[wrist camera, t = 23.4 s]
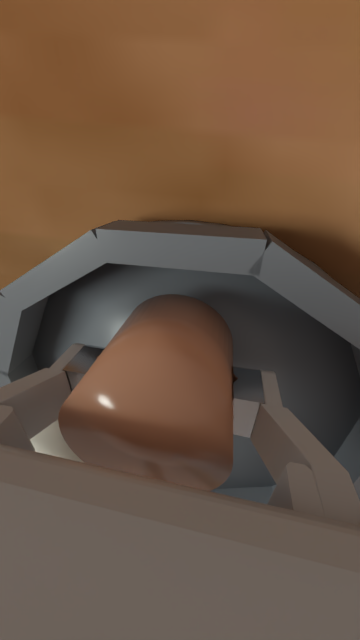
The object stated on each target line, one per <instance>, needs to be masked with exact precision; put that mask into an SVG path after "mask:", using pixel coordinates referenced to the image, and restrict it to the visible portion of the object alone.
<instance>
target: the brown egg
mask: <svg viewBox="0 0 360 640" xmlns="http://www.w3.org/2000/svg"><path fill="white" fill-rule="evenodd" d="M58 423H59V428H60V432H61V434H62V436H63V438H64V440H65V442H66V443H67V445H68V446H69V447H70V449H71V450H72V451H73V452H74V453H75V454H76V455H77V456H78V457H79V458H80V459H81V460H82V461H83V462H84V463H87V464H92V465H96V466H101V467H105V468H109V469H114V470H118V471H123V472H127V473H132V474H136V475H140V476H145V477H149V478H154V479H158V480H162V481H167V482H171V483H175V484H180V485H184V486H189V487H193V488H197V489H202V490H206V491H211V490H213V489H216V488H217V487H219V486H220V485H222V484H223V483H224V482H225V481H226V480H227V478H228V477H229V476H230V474H231V471H232V468H233V338H232V334H231V331H230V329H229V327H228V325H227V323H226V322H225V320H224V319H223V318H222V316H221V315H220V314H219V313H218V312H217V311H216V310H214V309H213V308H212V307H210V306H209V305H207V304H206V303H204V302H202V301H200V300H198V299H195V298H192V297H189V296H185V295H178V294H166V295H159V296H155V297H152V298H150V299H147V300H146V301H144V302H142V303H141V304H140V305H138V306H137V307H136V308H135V309H134V310H133V312H132V313H131V314H130V316H129V317H128V318H127V320H126V321H125V322H124V323H123V325H122V326H121V327H120V329H119V330H118V331H117V333H116V334H115V335H114V337H113V338H112V339H111V341H110V342H109V343H108V345H107V346H106V347H105V349H104V350H103V351H102V353H101V354H100V355H99V357H98V358H97V359H96V361H95V362H94V363H93V365H92V366H91V367H90V369H89V370H88V371H87V372H86V374H85V375H84V376H83V378H82V379H81V380H80V382H79V383H78V384H77V386H76V387H75V388H74V390H73V391H72V392H71V394H70V395H69V396H68V398H67V399H66V400H65V402H64V403H63V405H62V406H61V408H60V411H59V416H58Z"/></svg>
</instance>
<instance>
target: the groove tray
mask: <svg viewBox="0 0 360 640" xmlns="http://www.w3.org/2000/svg"><path fill="white" fill-rule="evenodd" d="M166 294H178V295H185V296H189V297H192V298H195V299H198V300H200V301H202V302H204V303H206V304H207V305H209V306H210V307H212V308H213V309H214V310H216V311H217V312H218V313H219V314H220V315H221V316H222V318H223V319H224V320H225V322H226V323H227V325H228V327H229V329H230V331H231V334H232V338H233V366H235V367H242V368H249V369H257V370H266V371H274V372H275V374H276V378H277V383H278V387H279V392H280V396H281V401H282V405H283V407H285V408H288V409H289V410H290V411H291V412H292V413H293V414H294V415H295V417H296V418H297V419H298V420H299V421H300V422H301V423H302V424H303V425H304V426H305V427H306V428H307V429H308V430H309V431H310V432H311V433H312V434H313V435H314V437H315V438H316V439H317V440H318V441H319V442H320V443H321V444H322V445H323V446H324V447H325V448H326V449H327V450H328V451H329V452H330V453H331V454H332V456H333V457H334V458H335V459H336V460H337V461H338V462H339V463H340V464H341V465H342V466H343V467H344V468H345V469H346V470H347V471H348V472H349V475H350V478H351V480H352V483H353V485H354V488H355V490H356V493H357V495H358V498H359V501H360V298H358V297H357V296H356V295H354V294H353V293H352V292H350V291H349V290H347V289H346V288H345V287H343V286H342V285H341V284H339V283H338V282H336V281H335V280H334V279H333V278H331V277H330V276H329V275H328V274H327V273H326V272H324V271H323V270H322V269H321V268H320V267H319V266H317V265H316V264H315V263H313V262H312V261H310V260H309V259H307V258H305V257H304V256H302V255H300V254H299V253H297V252H296V251H294V250H293V249H291V248H290V247H288V246H287V245H286V244H284V243H283V242H282V241H280V240H279V239H277V238H276V237H275V236H273V235H272V234H271V233H269V232H268V231H267V230H265V231H264V232H263V231H262V230H261V228H250V227H232V226H228V225H224V224H217V223H209V222H201V221H194V220H167V221H153V222H144V221H126V220H118V221H114V222H111V223H108V224H106V225H103V226H100V227H98V228H95V229H92V230H90V231H89V232H87V233H86V234H84V235H83V236H81V237H80V238H78V239H77V240H75V241H74V242H72V243H71V244H69V245H68V246H66V247H65V248H63V249H62V250H60V251H59V252H57V253H56V254H54V255H53V256H51V257H50V258H48V259H47V260H45V261H44V262H42V263H41V264H39V265H38V266H36V267H35V268H33V269H32V270H30V271H29V272H27V273H26V274H24V275H23V276H21V277H20V278H18V279H17V280H15V281H14V282H12V283H11V284H9V285H8V286H6V287H5V288H3V289H2V290H0V387H3V386H5V385H7V384H10V383H12V382H14V381H16V380H19V379H21V378H23V377H26V376H28V375H30V374H33V373H35V372H37V371H39V370H42V369H44V368H50V367H51V366H52V365H53V364H54V363H55V362H56V361H57V360H58V359H59V358H60V357H61V356H62V355H63V353H64V352H65V351H66V350H67V349H68V348H69V347H70V346H71V345H72V344H75V343H80V344H85V345H93V346H99V347H104V348H105V347H106V346H107V345H108V343H109V342H110V341H111V339H112V338H113V337H114V335H115V334H116V333H117V331H118V330H119V329H120V327H121V326H122V325H123V323H124V322H125V321H126V320H127V318H128V317H129V316H130V314H131V313H132V312H133V310H134V309H135V308H136V307H137V306H138V305H140V304H141V303H142V302H144V301H146V300H147V299H150V298H152V297H155V296H159V295H166ZM276 485H277V484H276V483H275V481H274V479H273V477H272V476H271V474H270V472H269V471H268V469H267V467H266V465H265V464H264V462H263V460H262V458H261V457H260V455H259V453H258V452H257V450H256V448H255V446H254V445H253V443H252V441H251V440H250V438H248V437H243V436H239V435H234V434H233V468H232V471H231V474H230V476H229V477H228V478H227V480H226V481H225V482H224V483H223V484H222V485H220V486H219V487H217V488H216V489H213V490H211V492H215V493H219V494H224V495H228V496H233V497H237V498H241V499H246V500H250V501H255V502H259V503H263V504H267V503H268V501H269V499H270V497H271V495H272V493H273V491H274V489H275V487H276Z"/></svg>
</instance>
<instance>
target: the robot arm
mask: <svg viewBox="0 0 360 640" xmlns="http://www.w3.org/2000/svg"><path fill="white" fill-rule="evenodd" d="M104 349H105V348H104V347H99V346H93V345H85V344H80V343H75V344H72V345H71V346H70V347H69V348H68V349H67V350H66V351H65V352H64V353H63V355H62V356H61V357H60V358H59V359H58V360H57V361H56V362H55V363H54V364H53V365H52V366H51V367H50V368H44V369H42V370H39V371H37V372H35V373H33V374H30V375H28V376H26V377H23V378H21V379H19V380H16V381H14V382H12V383H10V384H7V385H5V386H3V387H0V640H360V501H359V498H358V495H357V493H356V490H355V488H354V485H353V483H352V480H351V478H350V475H349V472H348V471H347V470H346V469H345V468H344V467H343V466H342V465H341V464H340V463H339V462H338V461H337V460H336V459H335V458H334V457H333V456H332V454H331V453H330V452H329V451H328V450H327V449H326V448H325V447H324V446H323V445H322V444H321V443H320V442H319V441H318V440H317V439H316V438H315V437H314V435H313V434H312V433H311V432H310V431H309V430H308V429H307V428H306V427H305V426H304V425H303V424H302V423H301V422H300V421H299V420H298V419H297V418H296V417H295V415H294V414H293V413H292V412H291V411H290V410H289V409H288V408H285V407H283V405H282V401H281V396H280V392H279V387H278V383H277V378H276V374H275V372H274V371H266V370H257V369H249V368H242V367H235V366H233V434H234V435H239V436H243V437H248V438H250V440H251V441H252V443H253V445H254V446H255V448H256V450H257V452H258V453H259V455H260V457H261V458H262V460H263V462H264V464H265V465H266V467H267V469H268V471H269V472H270V474H271V476H272V477H273V479H274V481H275V483H276V484H277V485H276V487H275V489H274V491H273V493H272V495H271V497H270V499H269V501H268V503H267V504H263V503H259V502H255V501H250V500H246V499H241V498H237V497H233V496H228V495H224V494H219V493H215V492H211V491H206V490H202V489H197V488H193V487H189V486H184V485H180V484H175V483H171V482H167V481H162V480H158V479H154V478H149V477H145V476H140V475H136V474H132V473H127V472H123V471H118V470H114V469H109V468H105V467H101V466H96V465H92V464H87V463H83V462H79V461H74V460H70V459H65V458H61V457H56V456H52V455H48V454H43V453H39V452H35V448H34V446H33V445H32V443H31V441H30V439H31V438H33V437H34V436H35V435H37V434H38V433H40V432H41V431H42V430H44V429H45V428H47V427H48V426H49V425H51V424H52V423H54V422H55V421H56V420H58V416H59V411H60V408H61V406H62V405H63V403H64V402H65V400H66V399H67V398H68V396H69V395H70V394H71V392H72V391H73V390H74V388H75V387H76V386H77V384H78V383H79V382H80V380H81V379H82V378H83V376H84V375H85V374H86V372H87V371H88V370H89V369H90V367H91V366H92V365H93V363H94V362H95V361H96V359H97V358H98V357H99V355H100V354H101V353H102V351H103V350H104Z"/></svg>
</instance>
